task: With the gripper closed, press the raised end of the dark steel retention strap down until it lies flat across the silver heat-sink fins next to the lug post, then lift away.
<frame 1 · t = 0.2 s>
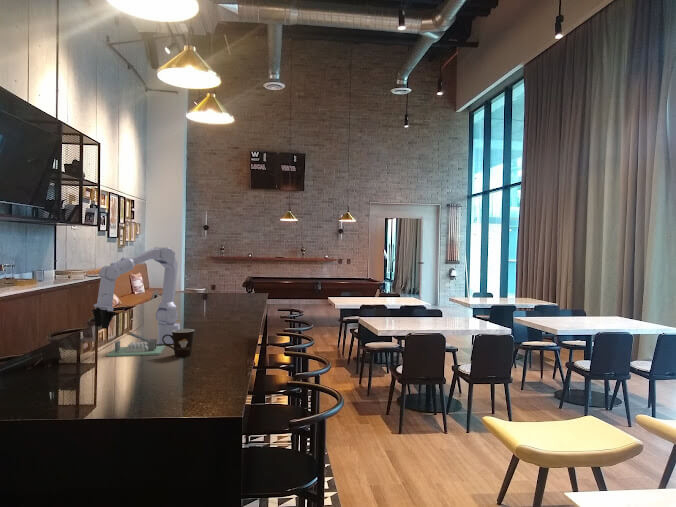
hand: (101, 327, 195), 11 cm above the table, tool pointing down, fingers open, 7 cm apart
coffee mug: (179, 355, 193), on the table
heatsink board: (137, 351, 199), on the table
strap: (139, 337, 199), point 6 cm above the table, hinge at 24.0°
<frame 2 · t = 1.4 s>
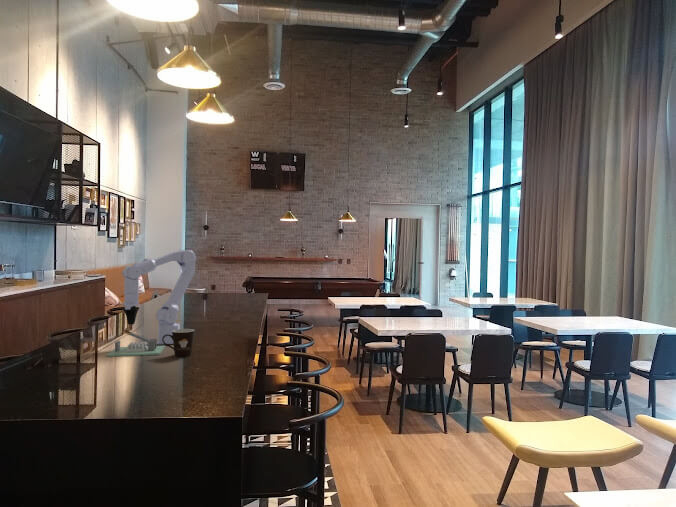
hand: (131, 324, 207), 10 cm above the table, tool pointing down, fingers closed
nothing on the table moved.
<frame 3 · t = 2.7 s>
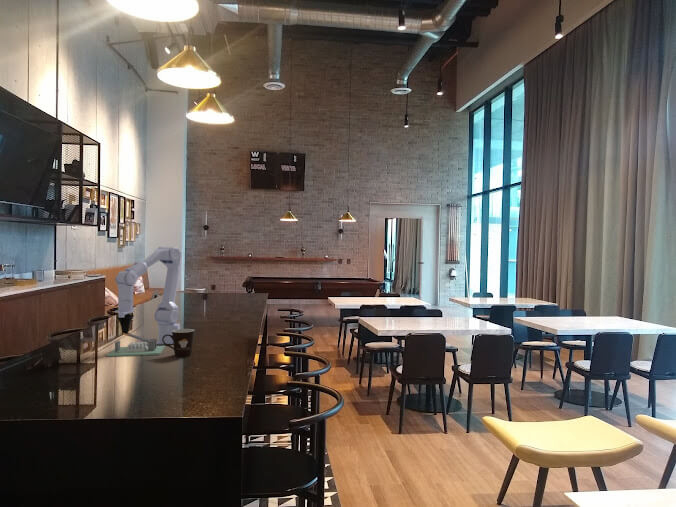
hand: (125, 332, 198), 8 cm above the table, tool pointing down, fingers closed, pressing on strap
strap: (139, 338, 199), point 6 cm above the table, hinge at 20.8°, touching gripper
everything else where it was.
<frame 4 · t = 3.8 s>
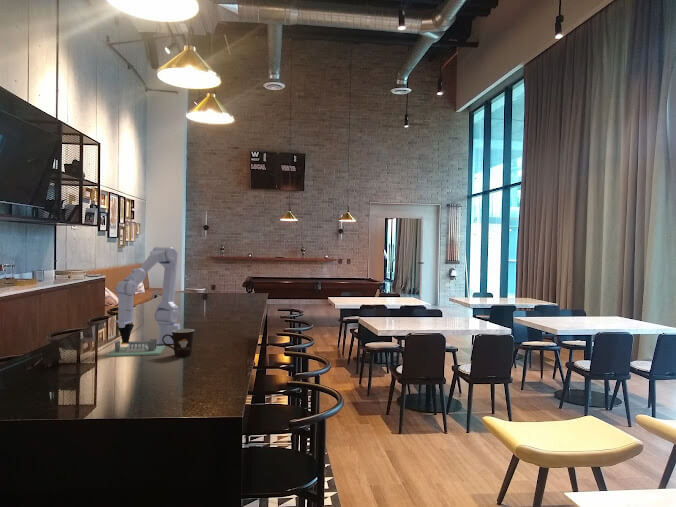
hand: (125, 342, 198), 4 cm above the table, tool pointing down, fingers closed, pressing on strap
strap: (138, 342, 199), point 4 cm above the table, hinge at 0.8°, touching gripper
everything else where it was.
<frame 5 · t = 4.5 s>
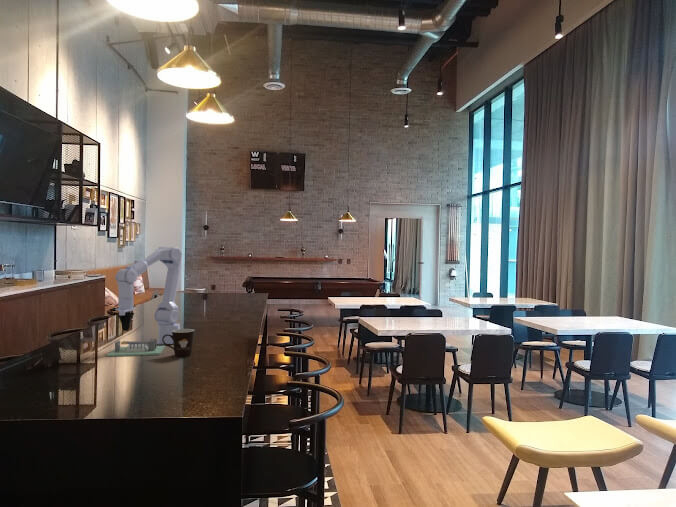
hand: (126, 330, 198), 9 cm above the table, tool pointing down, fingers closed
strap: (138, 342, 199), point 4 cm above the table, hinge at 0.8°
everything else where it was.
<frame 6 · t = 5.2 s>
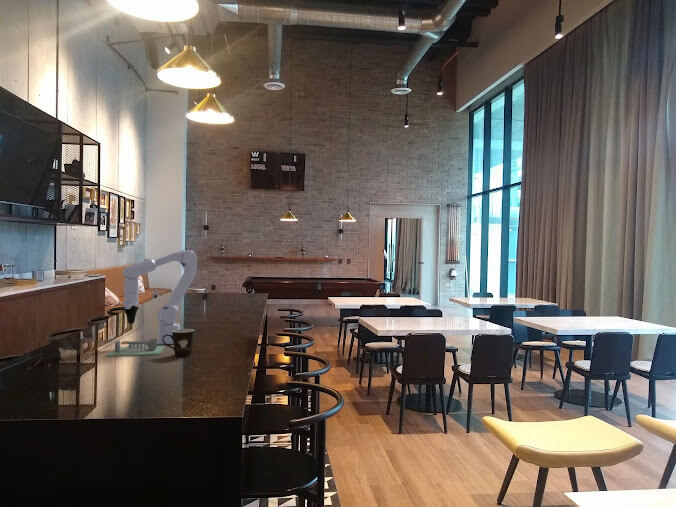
hand: (131, 323, 209), 10 cm above the table, tool pointing down, fingers closed
nothing on the table moved.
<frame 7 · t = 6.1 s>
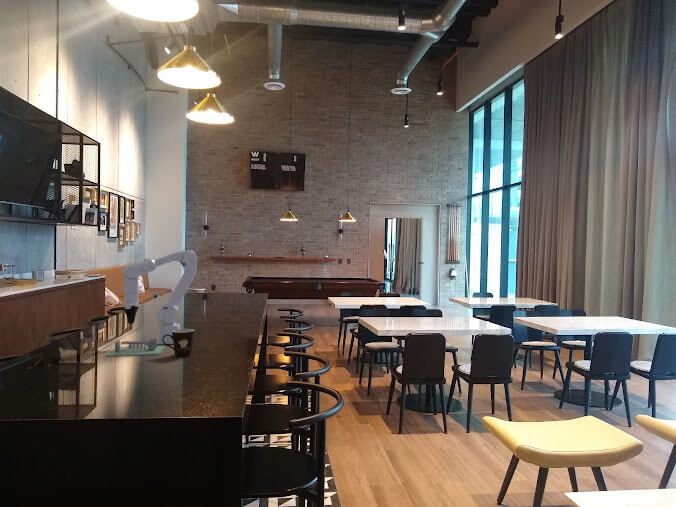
hand: (131, 323, 209), 10 cm above the table, tool pointing down, fingers closed
nothing on the table moved.
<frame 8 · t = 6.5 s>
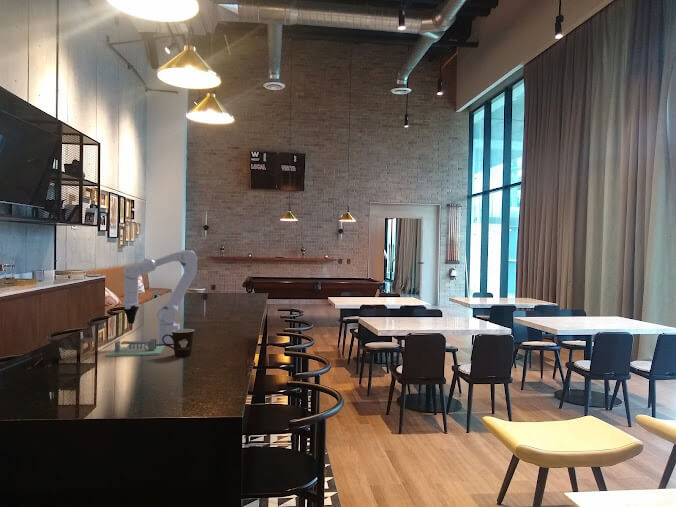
hand: (131, 323, 209), 10 cm above the table, tool pointing down, fingers closed
nothing on the table moved.
at the end: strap at +1° (first picture: +24°); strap touching nothing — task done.
